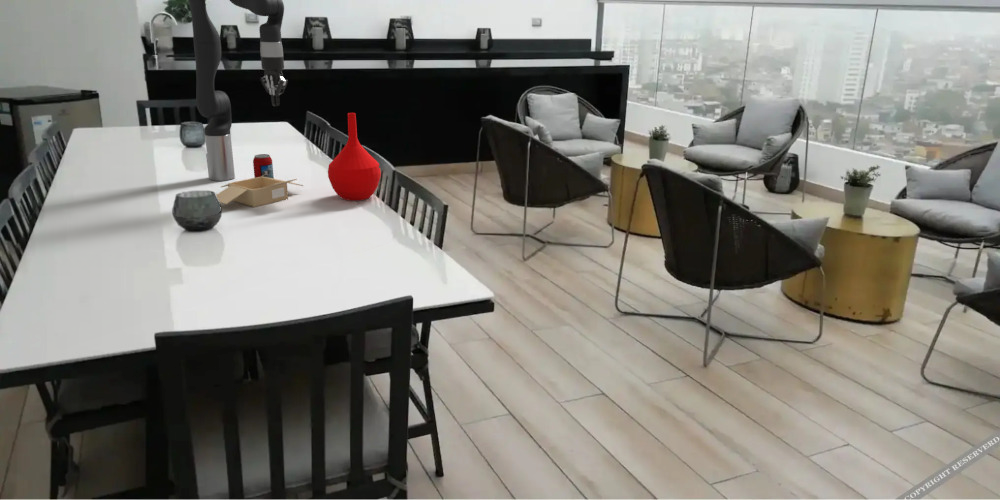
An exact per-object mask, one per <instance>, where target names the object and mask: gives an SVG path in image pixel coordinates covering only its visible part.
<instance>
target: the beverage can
mask: <svg viewBox="0 0 1000 500" xmlns="http://www.w3.org/2000/svg"><path fill="white" fill-rule="evenodd" d="M252 166H253V175H254V177H253V178H257V177H262V176H263V177H268V178H273V179H275V178H274V177H275V176H274V166H273V159H272V157H271V155H270V154H265V153H262V154H261V153H260V154H256V155H254V157H253V160H252Z"/></svg>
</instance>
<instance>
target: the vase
mask: <svg viewBox="0 0 1000 500" xmlns="http://www.w3.org/2000/svg"><path fill="white" fill-rule="evenodd" d="M356 115H357V114H356V113H355V112H348V113H347V134H348V138H347V142H346V144H345V145H344V147H342V149H341V150H340V151H339V153H338V154H337V155H336V156H335V157H334V158H333V160H332V161H331V162H330V163H329V164H328V169H327V178H328V180H329V182H330V185H331V188H332V189H333V191H334V192H335V193H336V195H337V196H339V198H341V199H342V200H346V201H351V202H352V201H353V202H354V201H355V202H356V201H357V202H358V201H364V200H367V199H369V198H371V197H372V196H373V194H375V192H376V190H377V189H378V186H379V183H380V180H381V177H382V169H381V167H380V168H379V166H380V163H379V162H378V161H377V160H376V159H375V158H374V157H373V156H372V155H371V154H370V153H369V152H368V151H367V150H366V149H365V147H364V146H362V145H361V143H360V141H359V139H358V132H357V131H358V129H357V117H356ZM380 169H381V170H380Z"/></svg>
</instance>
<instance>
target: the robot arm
mask: <svg viewBox="0 0 1000 500" xmlns="http://www.w3.org/2000/svg"><path fill="white" fill-rule="evenodd" d="M229 2H230V3H231V4H233V5H235V6H237V7H239V8H242V9H245V10H248V11H250V12H251V13H253V14H254V15H256V16H260V17H267V19H266V22H265V23H262V24H260V26H259V29H258V31H259V39H260V42H259V43H260V44H259V46H260V47H259V49H260V50H259V52H260V61H261V62H260V63H261V69H262V70H263V71H264V73H263V75H264V76H263V77H260V82H261V84H262V86H263V88H264V89H265V92H266V94H267V93H269V95H270V98H271V105H272V106H273V107H279V106H280V105H281V103H280V101H281V100H280V95H282V94H284V92H285V89H286V88H287V85H288V83H289V81H288V79H285V78H284V74H283V70H284V69H285V61H284V59H285V58H284V48H283V44H282V33H281V32H282V31H281V30H282V25H283V20H284V14H285V4H284V1H283V0H229ZM188 3H189V9H190V15H191V16H190V17H191V24H192V34H193V37H192V38H193V48H194V57H195V58H194V59H195V73H196V76H195V77H196V86H195V87H196V90H195V91H196V93H195V95H196V96H195V97H196V98H195V101H196V108H197V111H198V113H199V114H200V116H202V117H204V118H210V120H209V122H208V123H207V125H205V126H204V129H203V130H204V131H203V132H204V139H205V149H206V154H205V157H206V158H205V159H206V164H207V165H206V166H207V173H208V175H207V176H208V178H209V180H211V181H217V182H218V181H220V182H221V181H222V182H223V181H231V180H233V179H235V178H236V176H235V175H236V174H235V164H234V157H233V156H234V155H233V153H234V152H233V145H232V135H231V128H232V122H233V120H232V107H231V106H232V105H231V100H230V98H229V96H228V94H227V93H226V92H225V91H222V90H215V79H216V78H215V77H216V74H217V72H218V68H219V66H220V64H221V59H222V43H221V41H222V40H221V37H220V34H219V31H218V30H217V28H216V26H215V25H214V23H213V22H212V19H210V16H209V14H208V11H207V6H206V0H188Z"/></svg>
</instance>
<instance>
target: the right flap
mask: <svg viewBox="0 0 1000 500" xmlns="http://www.w3.org/2000/svg"><path fill="white" fill-rule="evenodd" d="M246 191H247V189H243V188H240V187H236V186H232V185H231V186H229V187H228V186H227V187H226V188H225V189H223V190H221V191H220V192H219V193H217V194H215V195H216V196H217V198H218V200H219V202H218V203H221V204H224V205H228V204H229V203H230V202H233V201H232V200H233V199H235V198H237V197H238V196H240V195H241V194H243V193H244V192H246Z"/></svg>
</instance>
